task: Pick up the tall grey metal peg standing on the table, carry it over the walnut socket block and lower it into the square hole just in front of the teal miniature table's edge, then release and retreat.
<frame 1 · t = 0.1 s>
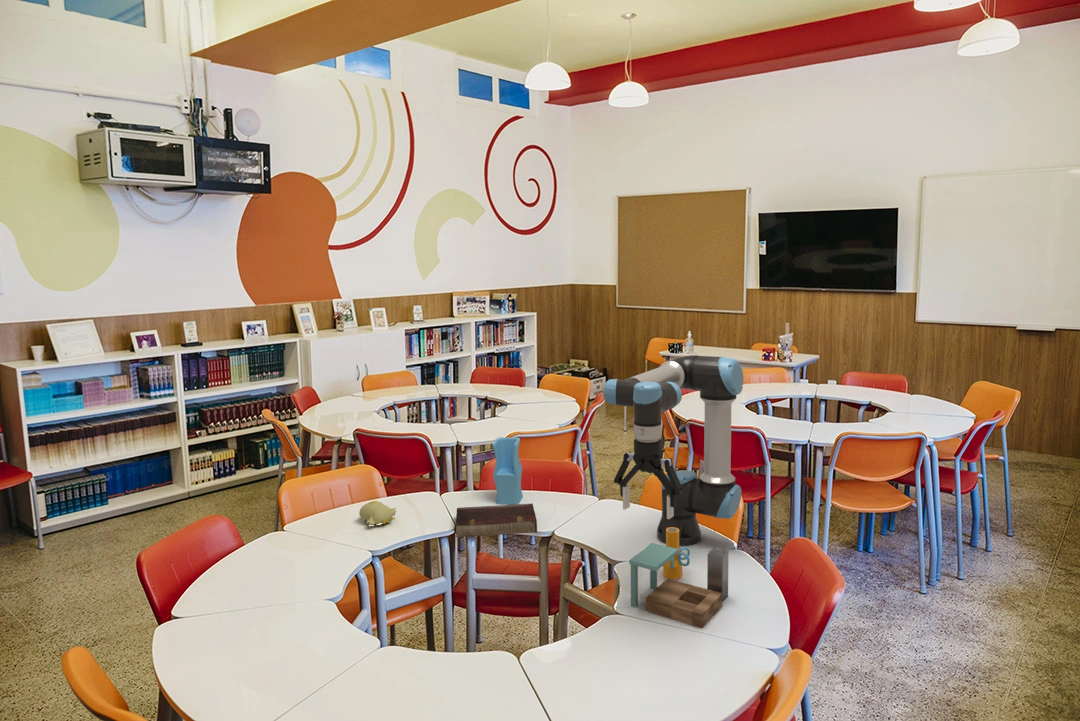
hand: (647, 512, 201), 28 cm above the table, fingers open, 13 cm apart
teal miniature table: (653, 599, 209), on the table
cylinder: (672, 576, 224), on the table
hardback book: (496, 526, 269), on the table
peg: (717, 597, 210), on the table
blue high-backed chair: (508, 500, 294), on the table
socket block: (683, 608, 204), on the table
toy: (375, 522, 275), on the table
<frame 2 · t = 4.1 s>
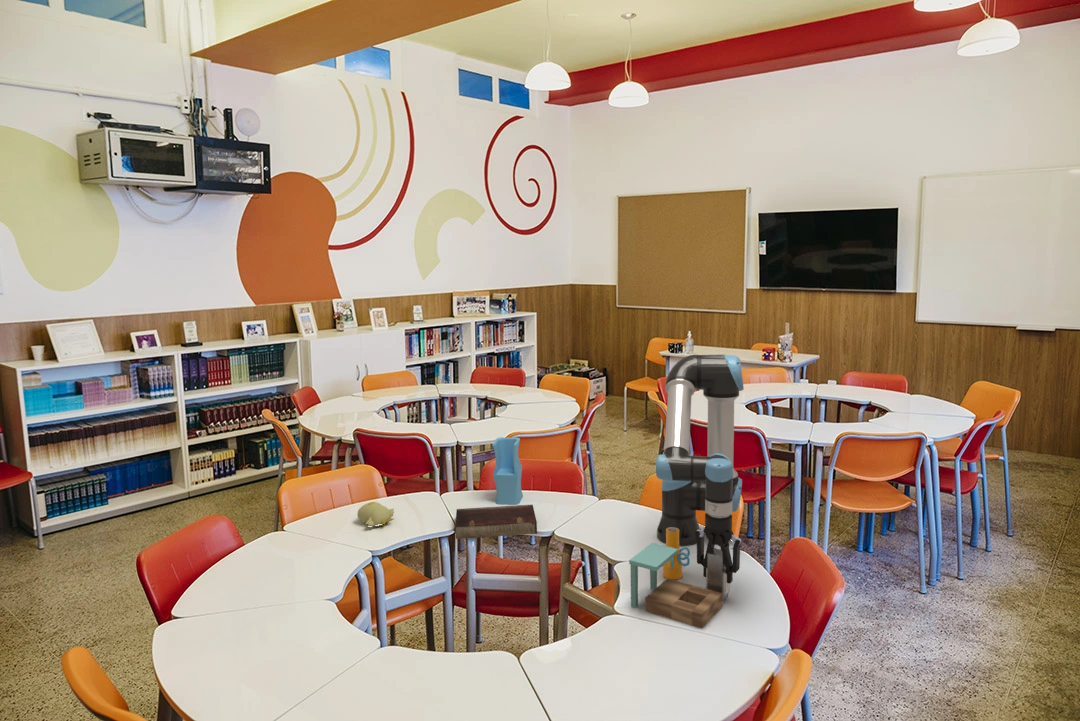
hand: (717, 590, 209), 2 cm above the table, fingers closed on peg, 4 cm apart
hardback book: (495, 527, 268), on the table
peg: (717, 597, 210), on the table, touching gripper
toy: (374, 523, 274), on the table
everything else where it was.
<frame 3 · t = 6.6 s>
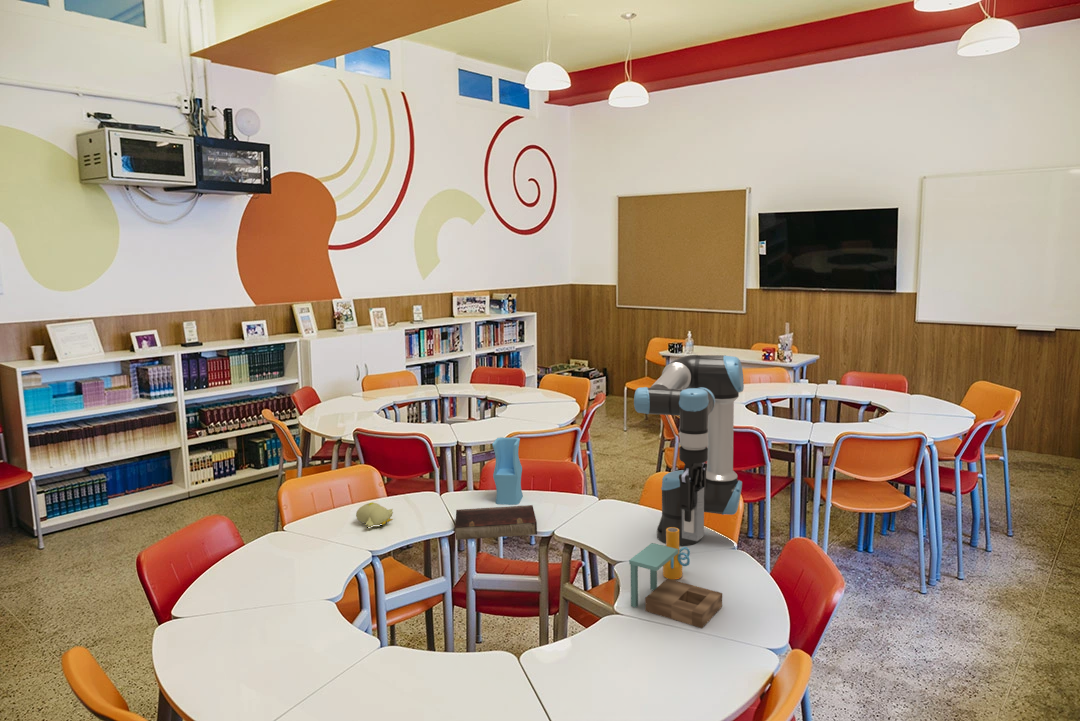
hand: (692, 528, 199), 24 cm above the table, fingers closed on peg, 4 cm apart
peg: (692, 536, 199), point 22 cm above the table, touching gripper
when the fingers open (5 cm above the table, at t = 9.2 s): peg drops 2 cm, resting in socket block.
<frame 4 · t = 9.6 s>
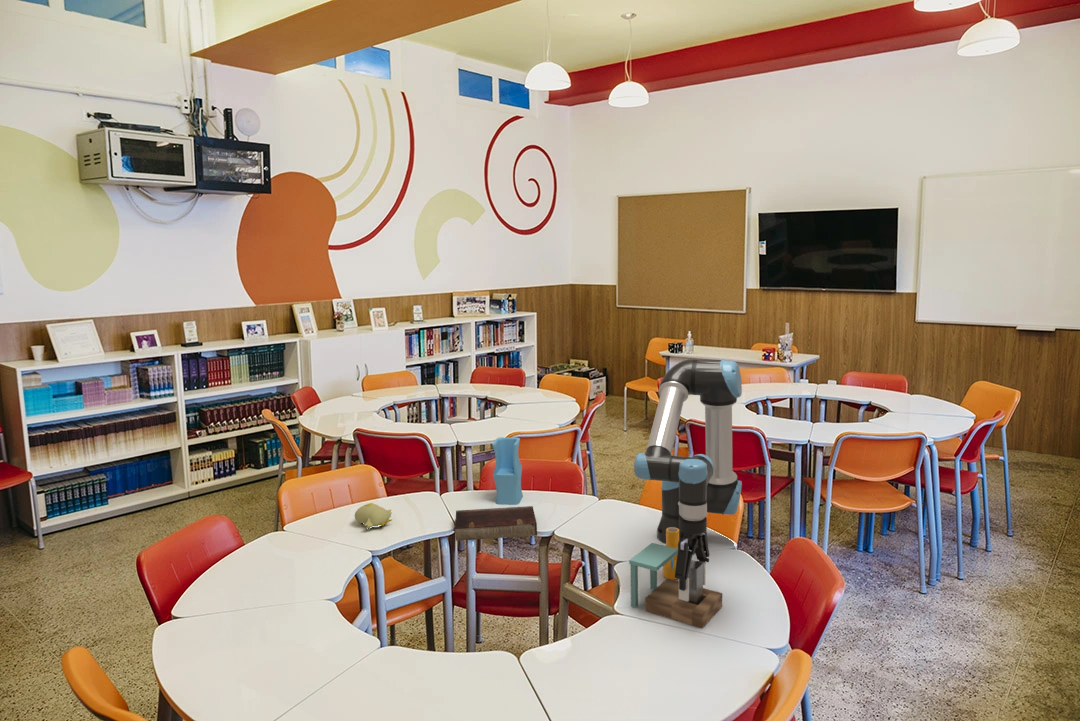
hand: (692, 591, 202), 6 cm above the table, fingers open, 10 cm apart
peg: (692, 611, 203), resting in socket block
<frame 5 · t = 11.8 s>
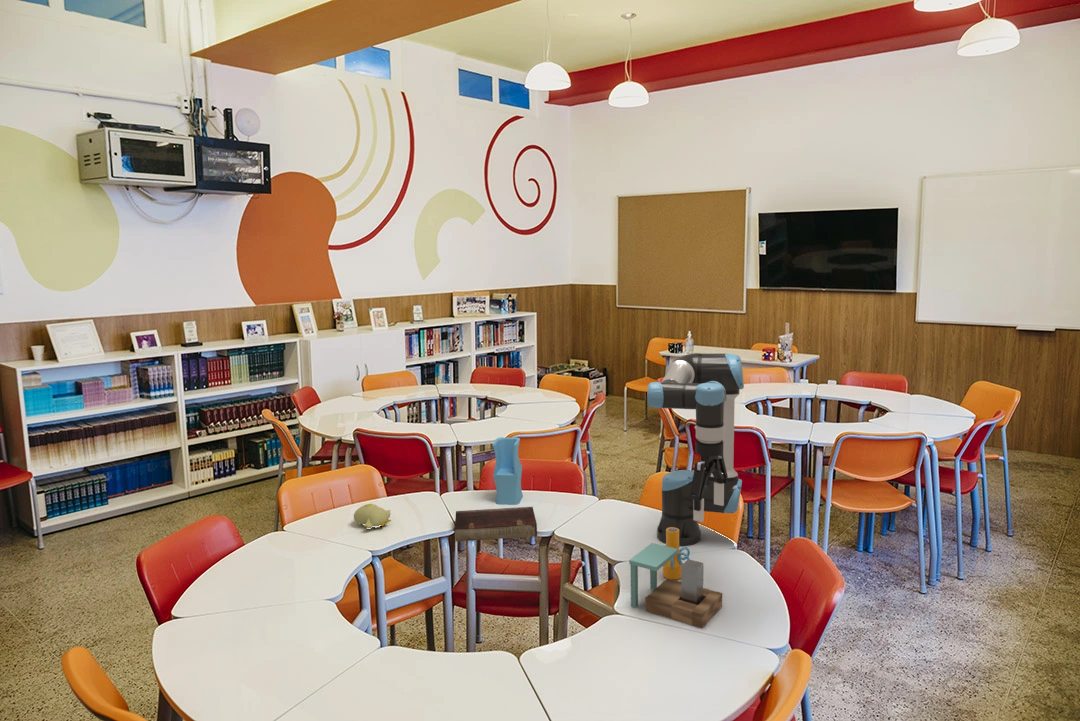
hand: (708, 512, 203), 27 cm above the table, fingers open, 13 cm apart
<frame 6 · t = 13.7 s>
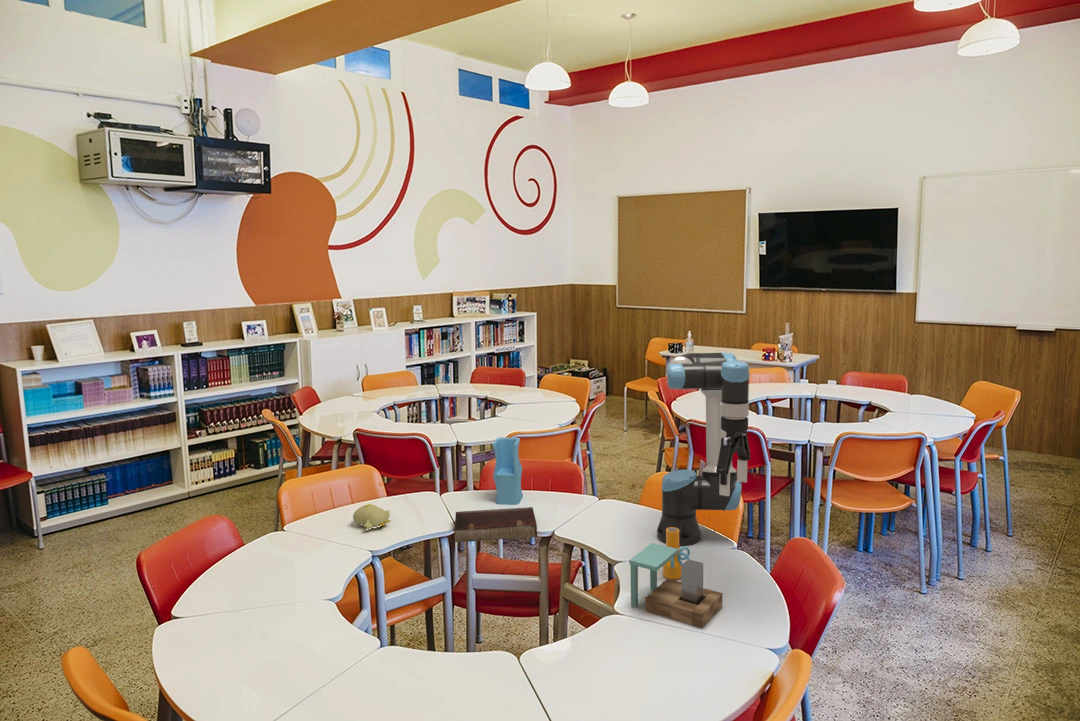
hand: (733, 488, 208), 32 cm above the table, fingers open, 13 cm apart
at the end: peg 0.0 cm from the target spot on the socket block, point 0.0 cm above the socket block's base; peg tilted 0°; the gripper is holding nothing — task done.
